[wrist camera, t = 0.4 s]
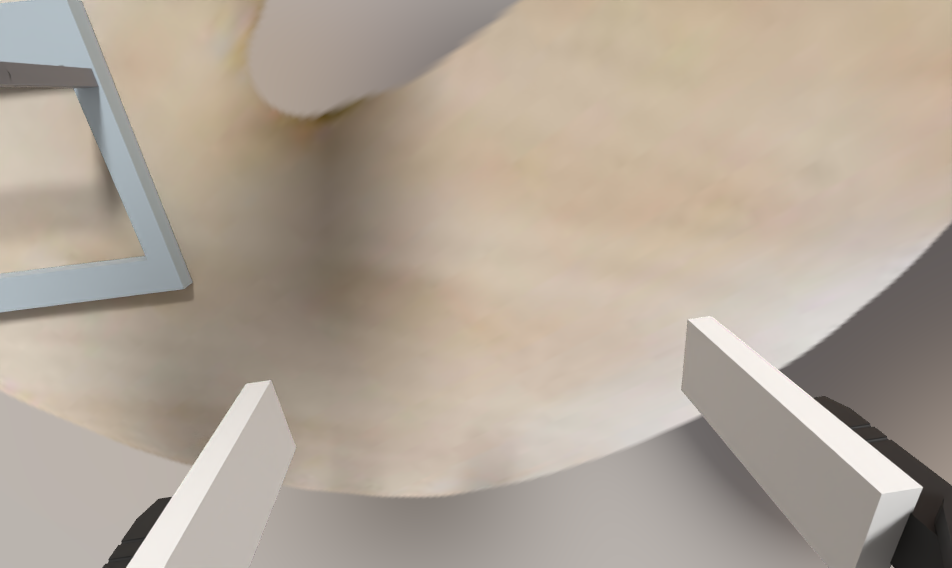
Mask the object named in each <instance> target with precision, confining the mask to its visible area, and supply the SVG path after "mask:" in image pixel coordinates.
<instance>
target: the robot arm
mask: <svg viewBox="0 0 952 568" xmlns="http://www.w3.org/2000/svg"><path fill="white" fill-rule="evenodd" d="M681 390H682V391H683V393H684V394H685V395H686V396H687V397H688V399H689V400H690V401H691V402H692V403H693V405H694V406H695V407H696V408H697V409H698V411H699V412H700V413H701V414H702V416H703V417H704V418H705V419H706V420H707V422H708V423H709V424H710V425H711V426H712V428H713V429H714V430H715V431H716V432H717V434H718V435H719V436H720V437H721V438H722V440H723V441H724V442H725V443H726V445H727V446H728V447H729V448H730V449H731V451H732V452H733V453H734V454H735V455H736V457H737V458H738V459H739V460H740V461H741V463H742V464H743V465H744V466H745V467H746V469H747V470H748V471H749V472H750V474H751V475H752V476H753V477H754V478H755V480H756V481H757V482H758V483H759V484H760V486H761V487H762V488H763V489H764V491H765V492H766V493H767V494H768V495H769V496H770V498H771V499H772V500H773V501H774V503H775V504H776V505H777V506H778V507H779V509H780V510H781V511H782V512H783V513H784V515H785V516H786V517H787V518H788V520H789V521H790V522H791V523H792V524H793V526H794V527H795V528H796V529H797V530H798V532H799V533H800V534H801V535H802V536H803V538H804V539H805V540H806V541H807V542H808V544H809V545H810V546H811V547H812V549H813V550H814V551H815V552H816V553H817V555H818V556H819V557H820V558H821V559H822V561H823V562H824V563H825V564H826V565H827V567H828V568H890V567H891V565H893V567H894V568H952V486H951V485H950V484H949V483H948V482H946V481H945V480H944V479H942V478H941V477H940V476H938V475H937V474H936V473H934V472H933V471H932V470H930V469H929V468H928V467H926V466H925V465H924V464H923V463H921V462H920V461H919V460H917V459H916V458H915V457H913V456H912V455H911V454H909V453H908V452H907V451H905V450H904V449H903V448H902V447H900V446H899V445H898V444H896V443H895V442H894V441H892V440H888V439H887V436H886V435H884V434H883V433H882V432H881V431H879V430H878V429H876V428H875V427H871V426H870V423H869V422H867V421H866V420H865V419H863V418H862V417H861V416H859V415H858V414H857V413H856V412H854V411H853V410H852V409H850V408H848V407H846V406H844V405H842V404H840V403H838V402H836V401H834V400H831V399H830V398H828V397H825V396H822V397H815V398H812V397H811V396H809V395H808V394H807V393H806V392H805V391H803V390H802V389H801V388H800V387H798V386H797V385H796V384H795V383H794V382H792V381H791V380H790V379H789V378H787V377H786V376H785V375H784V374H782V373H781V372H780V371H779V370H777V369H776V368H775V367H774V366H773V365H771V364H770V363H769V362H768V361H766V360H765V359H764V358H763V357H761V356H760V355H759V354H758V353H756V352H755V351H754V350H753V349H752V348H750V347H749V346H748V345H747V344H745V343H744V342H743V341H742V340H740V339H739V338H738V337H737V336H735V335H734V334H733V333H732V332H731V331H729V330H728V329H727V328H726V327H724V326H723V325H722V324H721V323H719V322H718V321H717V320H716V319H714V318H713V317H712V316H707V317H700V318H693V319H688V321H687V332H686V343H685V354H684V365H683V377H682V388H681ZM295 450H296V445H295V443H294V440H293V437H292V435H291V432H290V429H289V427H288V424H287V421H286V418H285V416H284V413H283V410H282V408H281V405H280V402H279V400H278V397H277V394H276V391H275V389H274V386H273V383H272V381H271V380H267V381H261V382H254V383H247V384H246V385H245V386H244V388H243V389H242V391H241V392H240V394H239V395H238V397H237V398H236V400H235V402H234V403H233V405H232V406H231V408H230V409H229V411H228V412H227V414H226V415H225V417H224V418H223V420H222V421H221V423H220V425H219V426H218V428H217V429H216V431H215V432H214V434H213V435H212V437H211V438H210V440H209V441H208V443H207V444H206V446H205V448H204V449H203V451H202V452H201V454H200V455H199V457H198V458H197V460H196V461H195V463H194V464H193V466H192V468H191V469H190V471H189V472H188V474H187V475H186V477H185V478H184V480H183V481H182V483H181V484H180V486H179V488H178V489H177V491H176V492H175V494H174V495H173V497H168V498H162V499H158V500H157V501H156V502H155V503H154V504H152V505H151V506H150V507H149V508H148V509H147V510H146V511H145V512H144V513H143V514H142V515H141V516H139V517H138V518H137V519H136V521H135V522H134V524H133V525H132V527H131V528H130V530H129V531H128V532H127V534H126V535H125V536H124V538H123V540H122V544H121V545H118V547H117V548H116V549H115V551H114V552H113V554H112V555H111V556H110V558H109V562H108V564H105V565H104V566H103V568H249V567H250V565H251V562H252V560H253V557H254V555H255V552H256V549H257V547H258V544H259V542H260V539H261V537H262V534H263V531H264V529H265V527H266V524H267V521H268V519H269V516H270V514H271V511H272V509H273V506H274V503H275V501H276V499H277V496H278V493H279V491H280V488H281V486H282V483H283V481H284V478H285V476H286V473H287V470H288V468H289V465H290V463H291V460H292V458H293V455H294V453H295Z"/></svg>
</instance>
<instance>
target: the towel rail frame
mask: <svg viewBox="0 0 952 568" xmlns="http://www.w3.org/2000/svg"><path fill="white" fill-rule="evenodd" d="M0 87H33V88H73V89H74V91H75V93H76V96H77V98H78V100H79V103H80V105H81V107H82V109H83V112H84V114H85V116H86V119H87V121H88V123H89V126H90V128H91V130H92V133H93V135H94V137H95V140H96V142H97V144H98V147H99V149H100V151H101V154H102V156H103V158H104V161H105V163H106V165H107V168H108V170H109V172H110V174H111V177H112V179H113V181H114V184H115V186H116V188H117V191H118V193H119V195H120V198H121V200H122V202H123V205H124V207H125V209H126V212H127V214H128V216H129V219H130V221H131V223H132V226H133V228H134V230H135V233H136V235H137V237H138V239H139V242H140V244H141V246H142V249H143V251H144V253H145V256H140V257H132V258H124V259H116V260H108V261H100V262H92V263H84V264H76V265H67V266H59V267H51V268H43V269H35V270H27V271H19V272H11V273H3V274H0V312H7V311H15V310H23V309H30V308H38V307H46V306H54V305H62V304H70V303H78V302H86V301H94V300H102V299H109V298H117V297H125V296H133V295H141V294H149V293H157V292H165V291H173V290H181V289H185V288H186V287H187V286H189V285H190V284H191V283H193V282H192V279H191V277H190V274H189V272H188V269H187V267H186V264H185V262H184V259H183V256H182V254H181V251H180V249H179V246H178V244H177V241H176V239H175V236H174V234H173V231H172V229H171V226H170V224H169V221H168V219H167V216H166V213H165V211H164V208H163V206H162V203H161V201H160V198H159V196H158V193H157V191H156V188H155V186H154V183H153V181H152V178H151V175H150V173H149V170H148V168H147V165H146V163H145V160H144V158H143V155H142V153H141V150H140V148H139V145H138V143H137V140H136V138H135V135H134V132H133V130H132V127H131V125H130V122H129V120H128V117H127V115H126V112H125V110H124V107H123V105H122V102H121V100H120V97H119V95H118V92H117V89H116V87H115V84H114V82H113V79H112V77H111V74H110V72H109V69H108V67H107V64H106V62H105V59H104V57H103V54H102V51H101V49H100V46H99V44H98V41H97V39H96V36H95V34H94V31H93V29H92V26H91V24H90V21H89V19H88V16H87V14H86V11H85V8H84V6H83V3H82V1H79V0H29V1H19V2H9V3H0Z"/></svg>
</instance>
